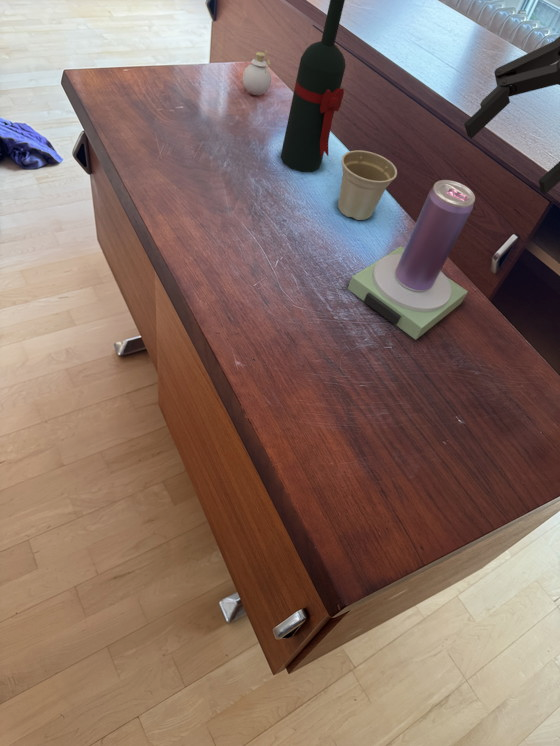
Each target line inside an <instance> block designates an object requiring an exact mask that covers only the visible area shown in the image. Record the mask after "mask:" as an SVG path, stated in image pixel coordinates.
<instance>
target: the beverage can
mask: <svg viewBox="0 0 560 746" xmlns="http://www.w3.org/2000/svg"><path fill="white" fill-rule="evenodd" d="M432 186H433V187H431V189H430V190H429V192H428V194H427V196H426V198H425V201H424V203H423V206H422V207H421V209H420V213H419V215H418V217H417V219H416V222H415V224H414V227H413V228H412V231H411V233H410V236H409V238H408V240H407V242H406V244H405V247H404V248H405V249H404V252H403V254H402V256H401V259H400V261H399V263H398V266H397V268H396V277H397V280H398V281H399V283H400V284H401V285H402V286H404V287H405V288H407V289H409V290H412V291H416V292H422V291H426V290H428V289H430V288H431V287H432V286H433V285H434V283H435V281H436V279H437V277H438V275H439V273H440V271H441V272H442V270H443V267H444V265H445V263H446V261H447V260H448V258H449V255H450V254H451V251H452V250H453V248H454V246H455V244H456V242H457V240H458V239H459V236H460V234H461V232H462V230H463V228H464V226H465V225H466V223H467V221H468V218H469V217H470V214H471V213H472V210H473V209H474V203H475V201H476V196H475V194H474V192H473V191H472V190H471V189H470V188H469V187H468V186H466V185H465V184H463V183H460V182H458V181H455V180H449V179H441V180H438V181H436V182H435V183H434V184H433V185H432Z"/></svg>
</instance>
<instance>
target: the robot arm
mask: <svg viewBox="0 0 560 746" xmlns="http://www.w3.org/2000/svg"><path fill="white" fill-rule="evenodd" d="M494 78H495V83H496V86H495V88H493V90H491V91H490V93H489V94H487V95H486V96H485V97H484V98H483V99H482V101H481V102H480V103H479V104H480V105H479V106H480V108H479V109H478V110H477V111H476V112H475V113H474V114H473V115H472V116H471V117H469V119H467V120H466V121H465V122H464V124H463V125H464V128H465V132H466V135H467V137H469V139H471V140H472V139H473V138H474V137H475V136H476V135H477V134H478V133H480V132H481V130H483V129H484V128H485V127H486V126H487V125H488V124H490V122H491V121H492V120H493V119H494V118H495V117H496V116H498V115H499V114H500V113H501V112H502V111H503V110H504V109H505V108H506V107H507V106H508V105H509V104H510V103H511V101H510V97H513V96H518V95H521V94H525V93H529V92H534V91H537V90H540V89H544V88H548V87H552V86H553V87H554V86H557V85H558V86H560V35H559V36H558V37H557V38H556V39H554V40H552V42H549V43H546V44H545V45H542V46H541V47H538V48H536V49H535V50H532V51H530V52H528V53H526V54H523V55H522V56H519V57H517V58H515V59H513V60H511V61H509V62H507V63H505V64H503V65H500V66H498V67H497V68H495V70H494ZM559 183H560V160H559V161H558V162H557V163H556V164H555V165H554V166H553V167H552V168H550V170H548V171H547V172H546V173H545V174H544V175H543V176H541V177H540V178H539V179H538V184H539V191H540V193H542V195H547V193H549V192H550V191H551V190H552V189H553V188H555V187H556V185H558V184H559Z"/></svg>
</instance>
